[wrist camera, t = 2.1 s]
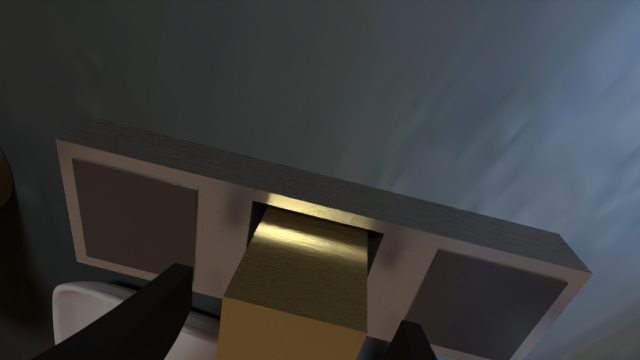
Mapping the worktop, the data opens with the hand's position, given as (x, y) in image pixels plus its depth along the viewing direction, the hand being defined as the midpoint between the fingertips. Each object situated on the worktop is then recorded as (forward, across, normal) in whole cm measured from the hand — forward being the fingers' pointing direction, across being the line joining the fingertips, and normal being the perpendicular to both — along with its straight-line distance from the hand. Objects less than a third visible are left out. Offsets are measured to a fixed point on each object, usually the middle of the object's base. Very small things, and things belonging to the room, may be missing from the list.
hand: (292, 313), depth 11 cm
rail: (+5, 0, 0) cm, 5 cm away
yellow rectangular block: (+5, 0, 0) cm, 5 cm away
